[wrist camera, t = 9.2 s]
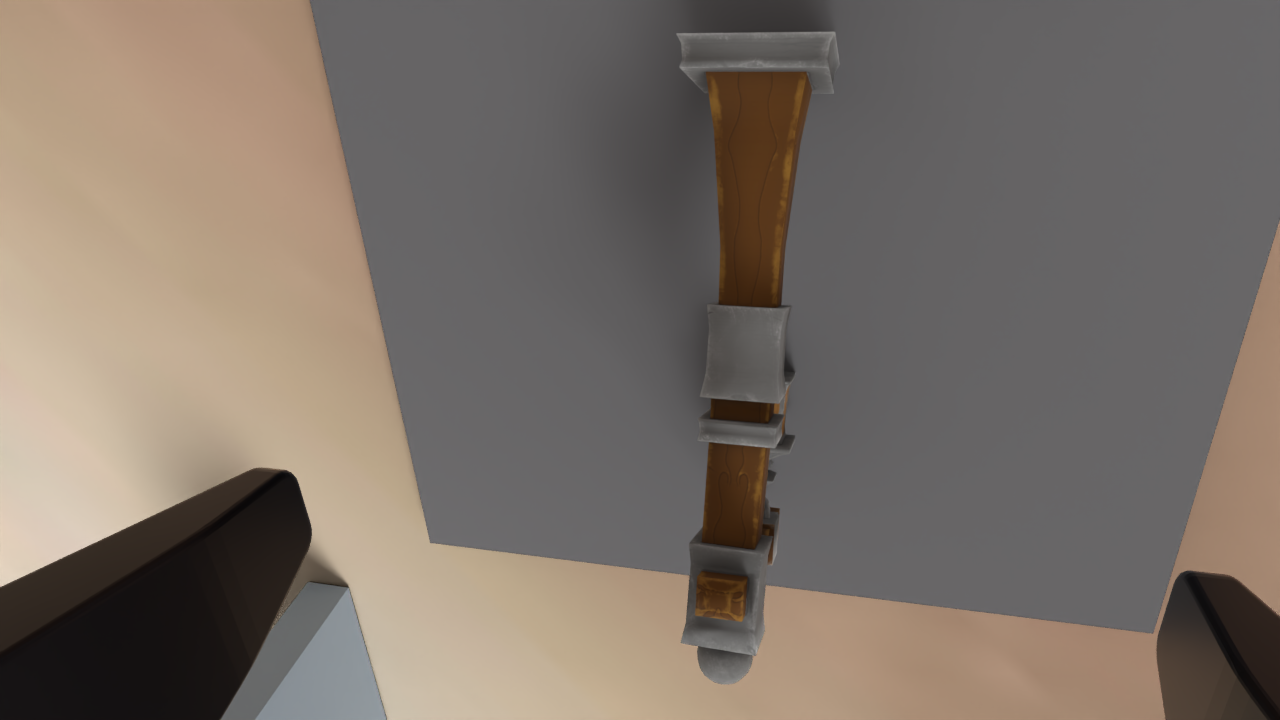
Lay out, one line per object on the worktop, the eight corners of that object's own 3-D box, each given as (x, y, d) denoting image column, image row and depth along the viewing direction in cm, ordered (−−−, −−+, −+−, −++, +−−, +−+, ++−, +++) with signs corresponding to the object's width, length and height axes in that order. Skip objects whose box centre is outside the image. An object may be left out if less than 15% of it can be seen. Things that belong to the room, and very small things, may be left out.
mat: (1365, -115, 10) (1380, -113, 10) (1148, 616, 16) (1153, 633, 15) (310, -70, 13) (295, -66, 13) (438, 529, 19) (430, 542, 18)
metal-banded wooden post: (702, 578, 16) (639, 700, 11) (728, 97, 15) (672, 28, 10) (809, 592, 15) (787, 724, 11) (843, 98, 14) (834, 26, 10)
